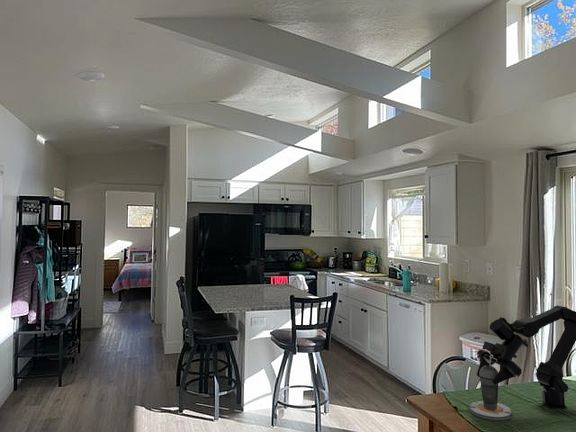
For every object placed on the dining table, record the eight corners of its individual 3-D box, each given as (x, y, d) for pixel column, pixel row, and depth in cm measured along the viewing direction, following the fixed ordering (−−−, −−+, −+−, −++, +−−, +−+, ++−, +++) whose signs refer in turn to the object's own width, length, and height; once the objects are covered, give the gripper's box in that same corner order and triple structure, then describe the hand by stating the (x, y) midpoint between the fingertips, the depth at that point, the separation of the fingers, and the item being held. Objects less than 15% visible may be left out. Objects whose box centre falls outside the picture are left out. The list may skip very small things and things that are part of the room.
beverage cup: (489, 402, 164) (487, 350, 165) (505, 409, 157) (503, 355, 158) (475, 405, 161) (473, 352, 163) (490, 412, 155) (488, 357, 156)
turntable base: (505, 405, 165) (505, 403, 165) (518, 422, 150) (518, 420, 150) (465, 404, 168) (465, 401, 168) (473, 419, 153) (473, 417, 153)
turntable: (504, 404, 165) (504, 401, 165) (516, 419, 151) (516, 416, 151) (466, 402, 167) (466, 399, 168) (474, 416, 154) (474, 414, 154)
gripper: (479, 329, 171) (456, 359, 168) (512, 339, 152) (487, 373, 150) (498, 347, 172) (475, 377, 169) (532, 359, 154) (508, 393, 151)
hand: (485, 379), depth 160 cm, fingers open, 9 cm apart
